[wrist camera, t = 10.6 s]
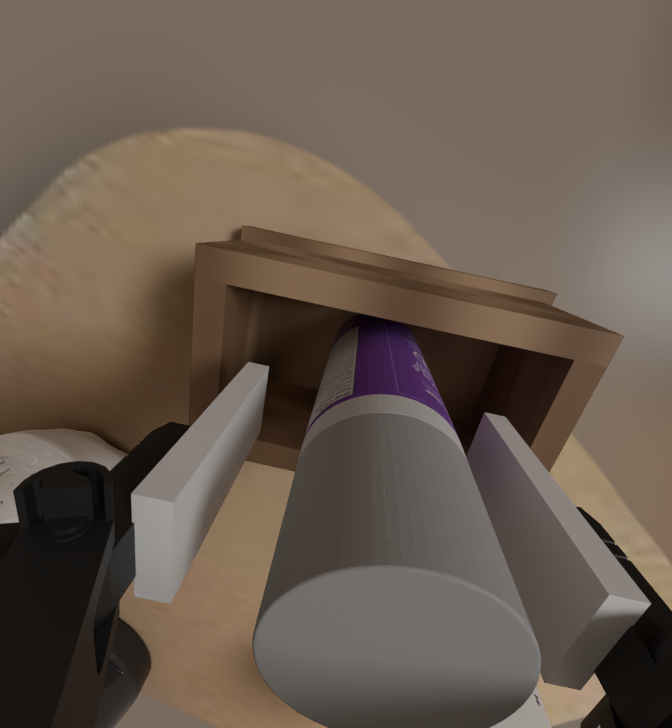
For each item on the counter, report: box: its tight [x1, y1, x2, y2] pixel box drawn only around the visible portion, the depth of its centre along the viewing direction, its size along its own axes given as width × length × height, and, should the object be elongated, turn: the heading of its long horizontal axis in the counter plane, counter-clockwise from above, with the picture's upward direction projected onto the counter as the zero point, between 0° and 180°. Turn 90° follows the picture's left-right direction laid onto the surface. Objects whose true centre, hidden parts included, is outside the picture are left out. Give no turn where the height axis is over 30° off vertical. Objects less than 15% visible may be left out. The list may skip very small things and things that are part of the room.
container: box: [253, 313, 541, 728], centre depth 12 cm, size 5×5×15 cm
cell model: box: [0, 429, 128, 524], centre depth 22 cm, size 10×12×7 cm
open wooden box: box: [189, 226, 624, 472], centre depth 17 cm, size 16×10×7 cm, turn 79°
